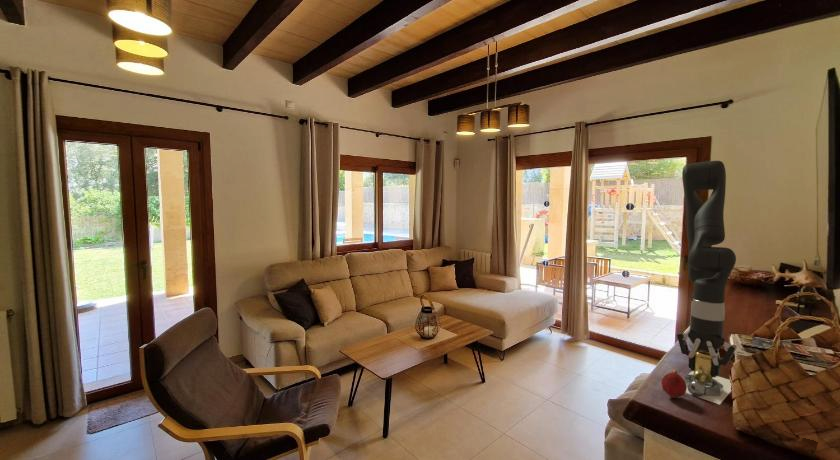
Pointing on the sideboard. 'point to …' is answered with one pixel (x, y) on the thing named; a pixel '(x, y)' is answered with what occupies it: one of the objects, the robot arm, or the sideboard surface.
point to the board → (716, 399)
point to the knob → (703, 366)
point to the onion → (674, 384)
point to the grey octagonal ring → (702, 387)
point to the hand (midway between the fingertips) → (703, 373)
